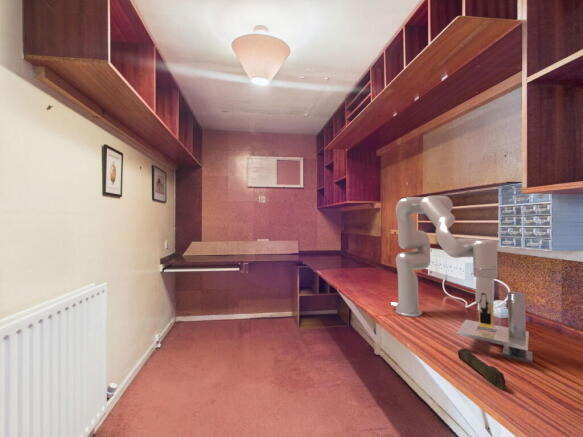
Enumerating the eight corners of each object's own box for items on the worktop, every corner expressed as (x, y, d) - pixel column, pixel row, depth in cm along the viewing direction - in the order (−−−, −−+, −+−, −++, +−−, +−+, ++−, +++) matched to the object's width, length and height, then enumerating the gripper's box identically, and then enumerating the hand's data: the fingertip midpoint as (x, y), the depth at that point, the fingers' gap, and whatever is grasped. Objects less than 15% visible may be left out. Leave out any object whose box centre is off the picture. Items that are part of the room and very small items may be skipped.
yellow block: (479, 326, 105) (478, 302, 105) (481, 323, 108) (480, 299, 108) (492, 328, 103) (492, 304, 103) (493, 325, 106) (493, 301, 106)
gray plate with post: (457, 349, 105) (456, 290, 105) (466, 335, 117) (465, 282, 117) (532, 368, 91) (530, 300, 91) (532, 350, 103) (531, 290, 103)
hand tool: (457, 359, 98) (457, 346, 98) (468, 359, 98) (468, 346, 98) (494, 392, 79) (494, 376, 79) (508, 392, 79) (508, 376, 79)
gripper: (477, 268, 114) (478, 313, 114) (469, 275, 102) (470, 325, 102) (499, 270, 109) (500, 317, 109) (495, 277, 97) (496, 331, 97)
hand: (486, 321), depth 105 cm, fingers closed on yellow block, 4 cm apart
